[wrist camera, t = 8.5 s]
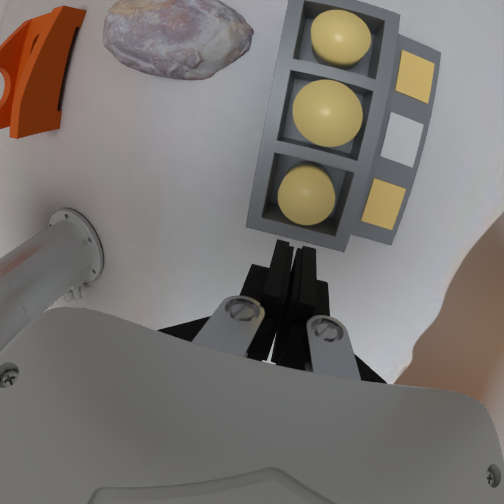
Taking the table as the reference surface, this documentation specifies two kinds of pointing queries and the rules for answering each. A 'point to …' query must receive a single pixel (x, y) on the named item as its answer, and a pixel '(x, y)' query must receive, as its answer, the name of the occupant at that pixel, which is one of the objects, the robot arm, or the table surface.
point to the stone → (176, 36)
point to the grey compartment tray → (301, 149)
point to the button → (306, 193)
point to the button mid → (327, 113)
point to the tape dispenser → (36, 71)
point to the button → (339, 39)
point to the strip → (399, 141)
